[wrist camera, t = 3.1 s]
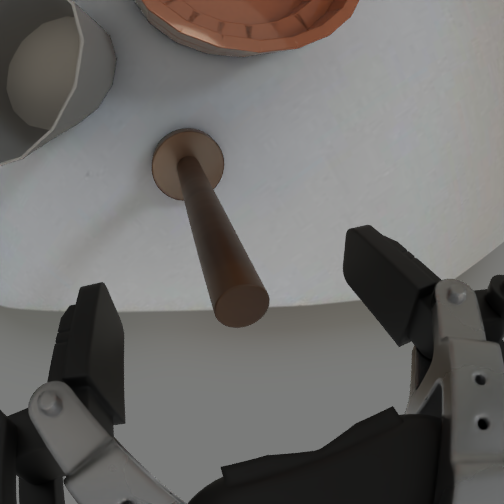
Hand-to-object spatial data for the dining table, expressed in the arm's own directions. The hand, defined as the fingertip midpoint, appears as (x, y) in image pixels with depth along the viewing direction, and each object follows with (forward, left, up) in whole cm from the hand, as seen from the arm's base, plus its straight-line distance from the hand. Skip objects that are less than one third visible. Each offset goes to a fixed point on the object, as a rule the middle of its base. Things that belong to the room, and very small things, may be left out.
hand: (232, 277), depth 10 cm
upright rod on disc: (0, 0, -15) cm, 15 cm away
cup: (-11, +3, -15) cm, 19 cm away
